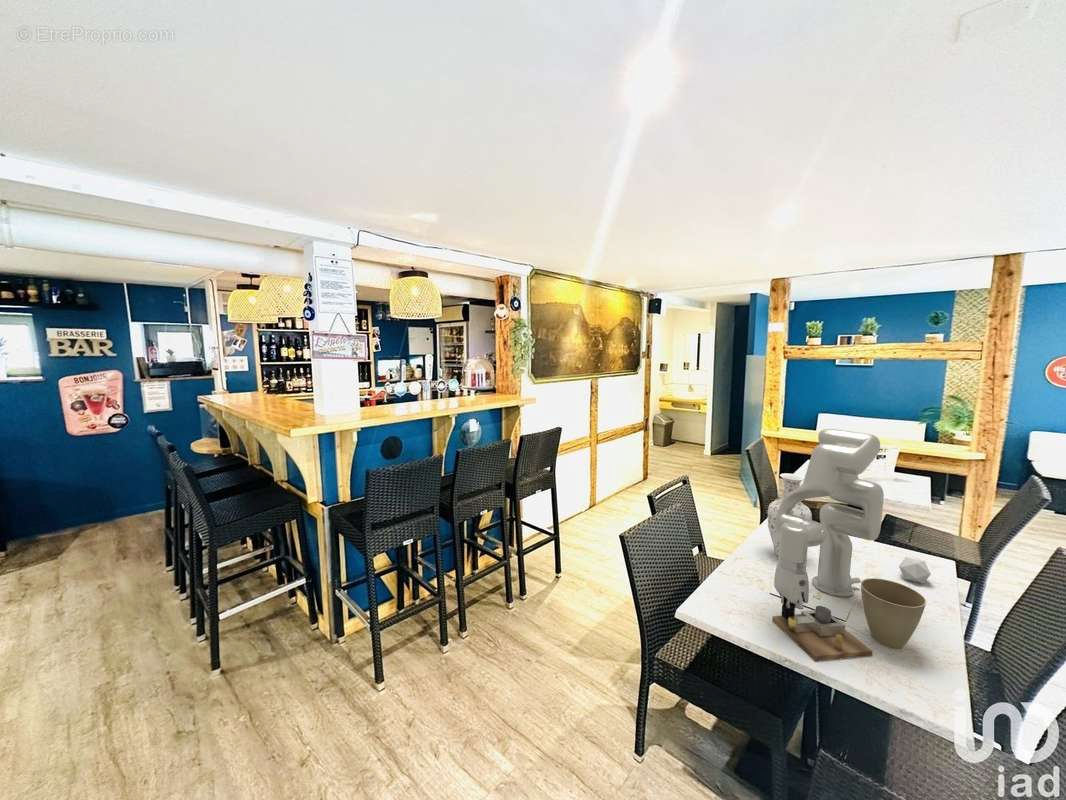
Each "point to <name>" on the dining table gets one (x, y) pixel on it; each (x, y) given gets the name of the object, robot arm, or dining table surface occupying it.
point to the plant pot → (891, 611)
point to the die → (914, 570)
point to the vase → (799, 510)
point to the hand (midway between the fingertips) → (787, 617)
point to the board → (824, 639)
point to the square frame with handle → (815, 625)
